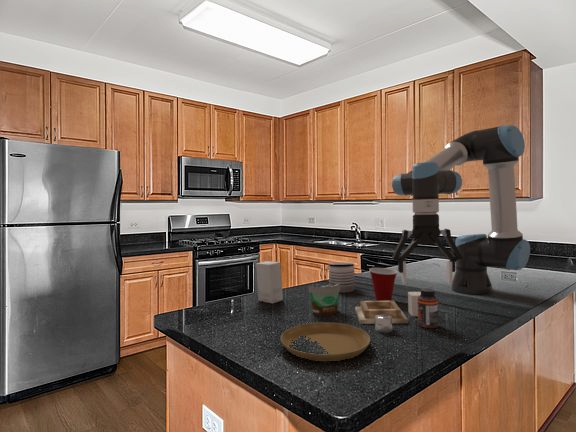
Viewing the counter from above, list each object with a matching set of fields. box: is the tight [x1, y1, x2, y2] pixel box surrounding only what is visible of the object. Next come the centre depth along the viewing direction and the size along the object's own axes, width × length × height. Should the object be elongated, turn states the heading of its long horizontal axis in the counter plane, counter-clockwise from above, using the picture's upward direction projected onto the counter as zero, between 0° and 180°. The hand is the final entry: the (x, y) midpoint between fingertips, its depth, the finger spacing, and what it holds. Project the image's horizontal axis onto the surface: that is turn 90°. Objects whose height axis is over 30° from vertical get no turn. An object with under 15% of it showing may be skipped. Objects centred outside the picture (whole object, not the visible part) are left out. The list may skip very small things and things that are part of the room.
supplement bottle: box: [417, 287, 439, 329], centre depth 116 cm, size 6×6×11 cm
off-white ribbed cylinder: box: [328, 262, 356, 293], centre depth 166 cm, size 11×11×12 cm
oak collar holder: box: [354, 299, 409, 325], centre depth 127 cm, size 15×15×4 cm
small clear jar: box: [374, 314, 393, 334], centre depth 114 cm, size 5×5×4 cm
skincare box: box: [255, 260, 284, 304], centre depth 152 cm, size 8×7×16 cm
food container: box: [308, 282, 341, 317], centre depth 132 cm, size 12×6×10 cm, turn 117°
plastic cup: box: [369, 267, 399, 301], centre depth 146 cm, size 11×11×12 cm
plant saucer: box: [280, 322, 371, 362], centre depth 103 cm, size 24×24×3 cm
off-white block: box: [407, 291, 421, 317], centre depth 128 cm, size 5×5×7 cm
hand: (426, 283), depth 115 cm, fingers open, 13 cm apart
